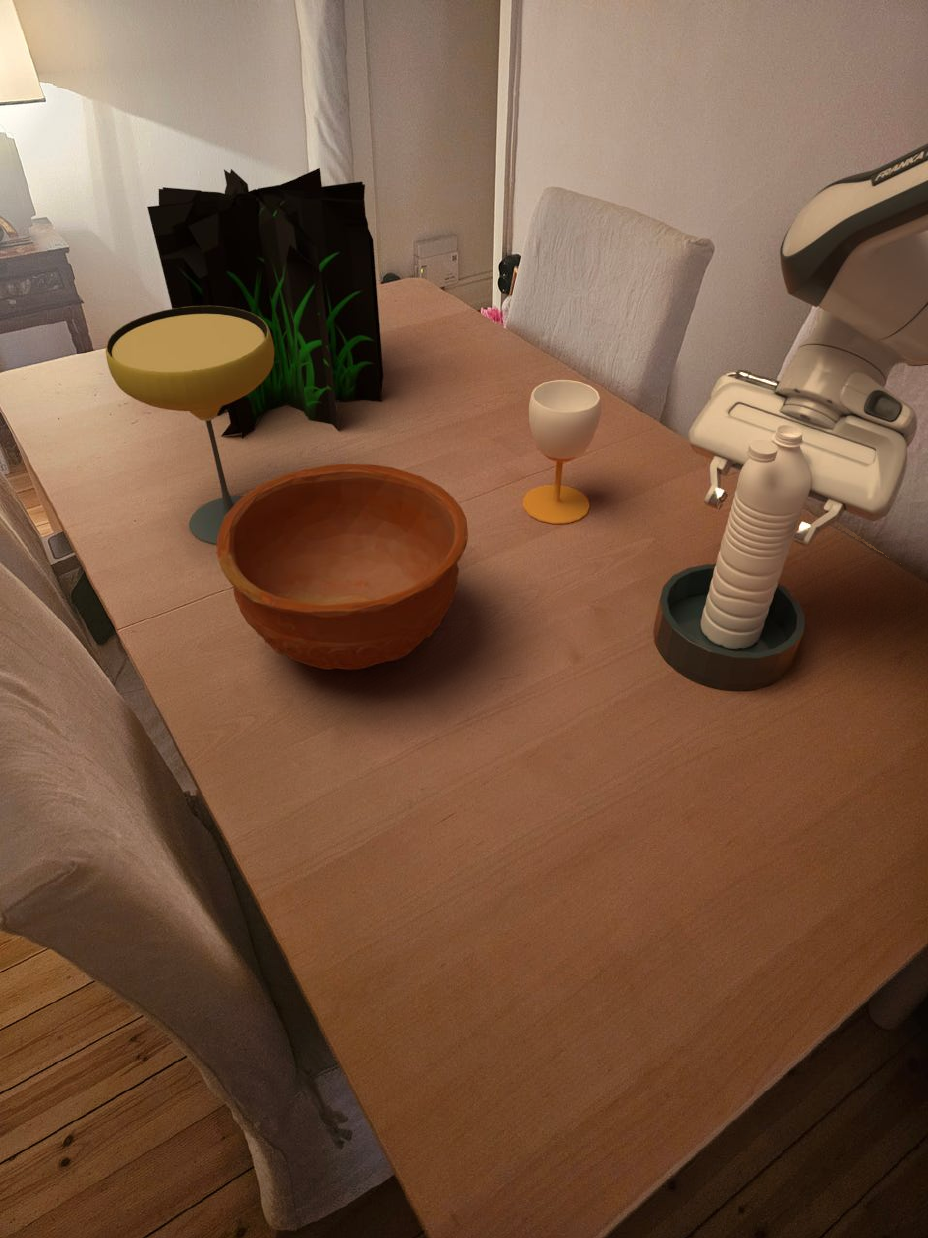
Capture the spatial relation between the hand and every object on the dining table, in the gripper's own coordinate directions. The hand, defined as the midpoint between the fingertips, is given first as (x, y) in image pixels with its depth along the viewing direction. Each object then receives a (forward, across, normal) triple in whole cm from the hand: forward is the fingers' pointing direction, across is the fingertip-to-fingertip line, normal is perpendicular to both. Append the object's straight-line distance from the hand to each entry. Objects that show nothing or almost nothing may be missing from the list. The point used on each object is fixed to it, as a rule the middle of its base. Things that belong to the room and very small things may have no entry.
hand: (754, 524), depth 80 cm
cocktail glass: (+26, -60, -3) cm, 65 cm away
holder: (+11, 0, +12) cm, 16 cm away
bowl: (+30, -32, -6) cm, 44 cm away
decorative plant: (+6, -80, +17) cm, 82 cm away
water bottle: (+11, 0, +11) cm, 15 cm away
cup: (+5, -29, +18) cm, 35 cm away
